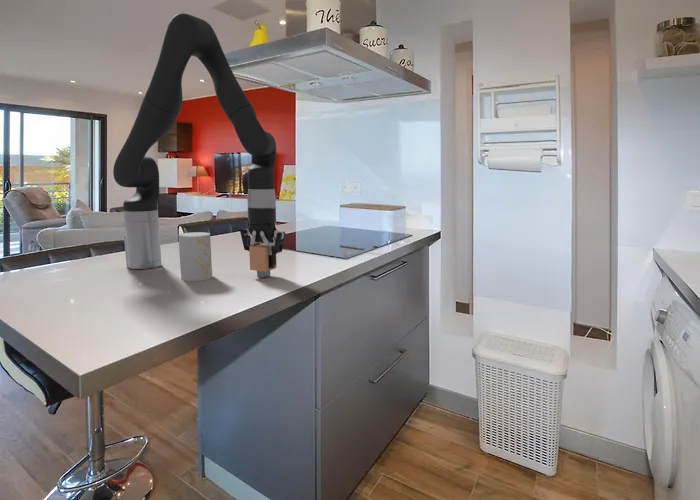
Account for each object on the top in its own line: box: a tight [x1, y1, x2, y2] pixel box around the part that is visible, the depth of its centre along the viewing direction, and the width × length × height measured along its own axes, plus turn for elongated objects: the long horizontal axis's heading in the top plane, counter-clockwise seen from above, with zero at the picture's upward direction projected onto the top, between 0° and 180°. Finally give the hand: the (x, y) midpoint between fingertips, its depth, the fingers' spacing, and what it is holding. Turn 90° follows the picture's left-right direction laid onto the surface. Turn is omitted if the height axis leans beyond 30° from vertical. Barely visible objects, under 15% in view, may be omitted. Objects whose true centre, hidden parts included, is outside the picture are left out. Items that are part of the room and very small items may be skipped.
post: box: [256, 270, 271, 279], centre depth 118 cm, size 3×3×7 cm
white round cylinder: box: [177, 231, 213, 282], centre depth 116 cm, size 8×8×12 cm
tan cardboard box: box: [248, 243, 278, 272], centre depth 117 cm, size 5×5×7 cm
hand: (263, 266), depth 118 cm, fingers closed on tan cardboard box, 5 cm apart
